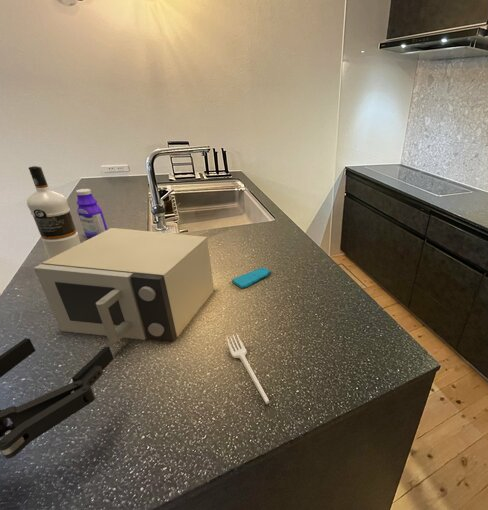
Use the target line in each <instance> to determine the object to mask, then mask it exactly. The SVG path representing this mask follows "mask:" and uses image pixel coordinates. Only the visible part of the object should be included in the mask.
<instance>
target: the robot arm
mask: <svg viewBox="0 0 488 510" xmlns="http://www.w3.org/2000/svg"><path fill="white" fill-rule="evenodd" d="M35 348H36V347H34V344H33V343H32V340H31V339H30V338H28V337H27V338H26V337H25V338H23V339H22V340H20V341H18V342H17V343H16V344H15V345H13V346H12V347H10V348H9V349H8V350H6V351H5V352H4V353H2V354H1V355H0V379H1V378H2V377H4V375H7V374H8V372H11V370H13V369H14V368H15V367H16V366H18V365H19V364H20V363H22V362H23V361H24V360H26V359H27V358H28V357H29V356H32V354H34V353H35V352H36V351H37V350H36V349H35ZM114 359H115V358H114V356H113V353H112V350H111V347H110V346H103V347H102V349H101V350H99V352H97V353H96V355H94V356H93V357H92V358H91V359H90V360H89V361H88V362H87V363H86V364H85V365H84V366H83V367H82V368H80V370H79V371H77V372H76V373H75V374H74V375H73V376H72V377H71V380H72V382H71V383H68V384H65V385H64V386H61V387H59V388H57V389H55V390H52V391H50V392H48V393H46V394H43V395H41V396H38V397H36V398H34V399H32V400H29V401H27V402H25V403H23V404H20V405H18V406H15V405H11V406H8V407H6V408H3V409H0V453H1V454H2V455H3V457H4V458H5V459H6V460H7V459H8V460H9V459H12V458H14V457H15V456H17V455H18V454H19V453H20V452H21V451H22V450H24V448H26V447H27V446H28V445H29V444H30V443H31V442H33V441H34V440H36V439H38V438H39V437H40V436H42V435H43V434H45V433H47V432H48V431H50V430H51V429H53V428H54V427H56V426H57V425H59V424H60V423H62V422H64V421H65V420H67V419H68V418H70V417H71V416H73V415H75V414H76V413H78V412H80V410H82V409H84V408H85V407H87V406H88V405H90V404H91V403H93V402H94V401H95V400H96V396H95V394H94V390H93V388H92V386H93V385H95V383H96V382H97V381H98V380H99V379H100V378H101V377H102V376H103V373H104V371H103V370H105V369H106V367H108V366H109V364H110V363H112V361H114ZM9 420H10V422H11V423H12V424H9V425H8V423H9Z"/></svg>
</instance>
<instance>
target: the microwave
mask: <svg viewBox="0 0 488 510" xmlns="http://www.w3.org/2000/svg"><path fill="white" fill-rule="evenodd" d="M208 241H209V240H208V237H207V236H203V235H202V236H199V235H191V234H181V233H169V232H161V231H160V232H157V231H150V230H149V231H147V230H137V229H129V228H128V229H127V228H117V227H110V228H107V230H106V231H104V232H102V233H100V234H98V235H96V236H94V237H92V238H90V237H89V239H87V240H84V241H82V242H81V243H80V244H78V245H76V246H74V247H72V248H70V249H68V250H66V251H64V252H62V253H60V254H58V255H56V256H55V257H53V258H51V259H49V260H48V259H46V260H44V261H43V262H41V264H44V265H54V266H64V267H74V268H84V269H94V270H105V271H115V272H125V273H133V275H132V276H131V280H132V284H133V287H134V291H135V295H136V298H137V302H138V306H139V309H140V313H141V317H142V320H143V324H144V328H145V331H146V335H147V338H146V339H147V340H153V341H162V342H172V343H173V342H175V340H176V339H178V337H179V336H180V334H181V333H182V332H183V331H184V329H185V328H186V327H187V326H188V324H189V323H190V322H191V320H192V319H193V318H194V316H196V314H197V313H198V312H199V310H200V309H201V308H202V306H203V305H204V304H205V303H206V301H207V300H208V299H209V297H210V296H211V295H212V293H213V292H214V291H215V287H214V279H213V272H212V271H213V270H212V265H211V264H212V263H211V258H210V257H211V256H210V249H209V242H208Z"/></svg>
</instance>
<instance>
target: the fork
mask: <svg viewBox="0 0 488 510" xmlns="http://www.w3.org/2000/svg"><path fill="white" fill-rule="evenodd" d="M235 335H236V336H235ZM235 335H234V334H232V335H229V336H226V340H227V341H226V342H227V345H228V350H229V353H230V355H231V357H232V358H233V359H239V360H240V361H241V363H242V365H243V366H244V368H245V370H246V372H247V373H248V375H249V377H250V379H251V380H252V382H253V384H254V387H256V390H257V391H258V392H259V395H260V396H261V398H262V400H263V402H264V404H265V405H268V404H270V403H271V402H270V400H269V397H268V396H267V394H266V392H265V391H264V389H263V387H262V385H261V383H260V381H259V380H258V378H257V376H256V374H255V372H254V370H253V369H252V366H251V365H250V363H249V361H248V359H247V357H246V355H247V353H248V351H247V348H246V347H245V345H244V343H243V341H242V340H241V338H240V336H239V334H238V333H237V332H235ZM236 338H237V339H236ZM229 339H230V340H229Z"/></svg>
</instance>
